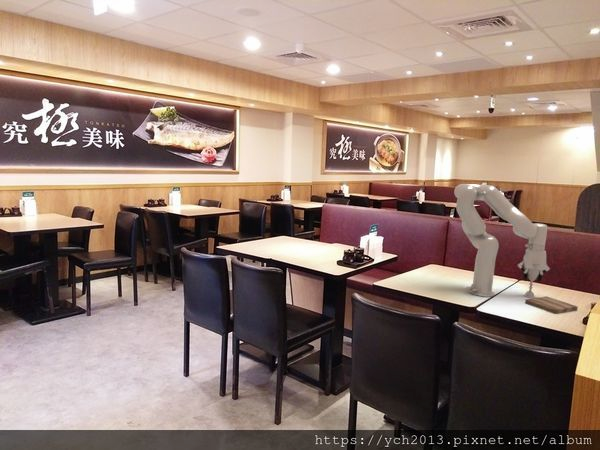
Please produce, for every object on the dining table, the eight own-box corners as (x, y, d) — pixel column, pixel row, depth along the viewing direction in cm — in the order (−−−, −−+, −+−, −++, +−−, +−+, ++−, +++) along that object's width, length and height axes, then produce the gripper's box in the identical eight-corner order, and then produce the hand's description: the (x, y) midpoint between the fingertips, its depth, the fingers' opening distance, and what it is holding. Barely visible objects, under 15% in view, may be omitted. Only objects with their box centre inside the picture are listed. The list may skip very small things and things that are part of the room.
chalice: (539, 299, 221) (544, 265, 219) (525, 298, 222) (530, 264, 219) (533, 294, 228) (537, 262, 226) (519, 293, 229) (524, 261, 226)
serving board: (555, 314, 199) (556, 309, 199) (525, 303, 213) (525, 299, 213) (577, 310, 206) (577, 306, 206) (546, 300, 220) (546, 296, 220)
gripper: (520, 247, 219) (515, 281, 222) (557, 250, 216) (552, 284, 218) (516, 244, 227) (512, 277, 229) (552, 247, 223) (547, 281, 226)
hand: (531, 280), depth 224 cm, fingers closed on chalice, 5 cm apart
